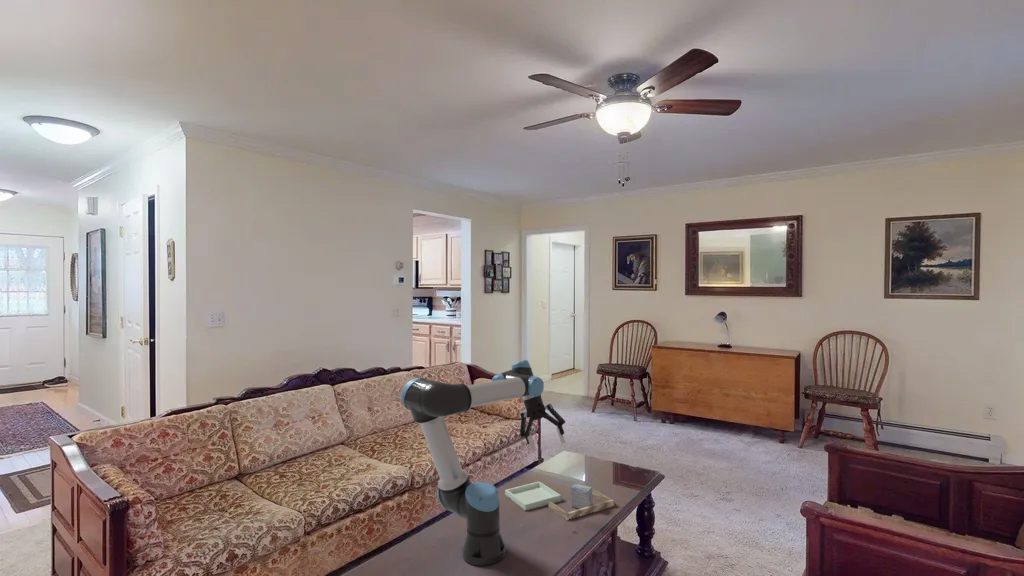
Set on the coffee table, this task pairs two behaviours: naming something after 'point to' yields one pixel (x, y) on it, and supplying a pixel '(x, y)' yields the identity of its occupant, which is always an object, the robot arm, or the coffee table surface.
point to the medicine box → (581, 496)
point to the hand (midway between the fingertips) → (548, 447)
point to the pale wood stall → (583, 511)
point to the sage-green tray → (532, 495)
